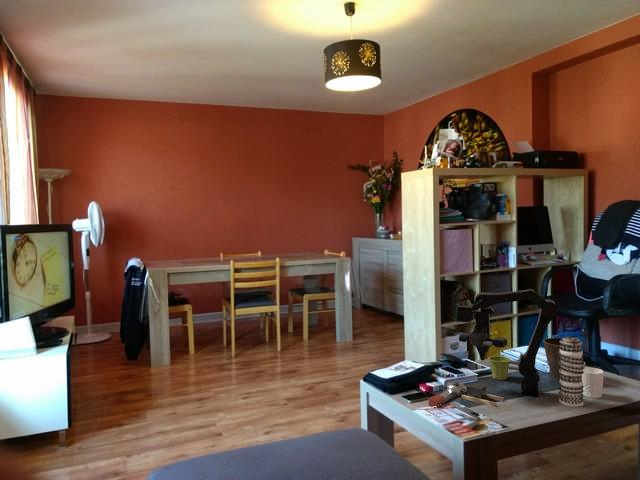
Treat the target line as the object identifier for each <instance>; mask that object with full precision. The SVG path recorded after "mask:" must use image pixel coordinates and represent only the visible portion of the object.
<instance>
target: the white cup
mask: <svg viewBox="0 0 640 480" xmlns="http://www.w3.org/2000/svg"><path fill="white" fill-rule="evenodd" d="M582 371H583V372H584V373H583V375H582V381H583V386H584V388H583V391H584V392H583V395H584V397H586V398H587V397H588V398H592V399H599V398H602V396H603V388H604V370H602V369H600V368H596V367H584V369H583V370H582Z"/></svg>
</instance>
